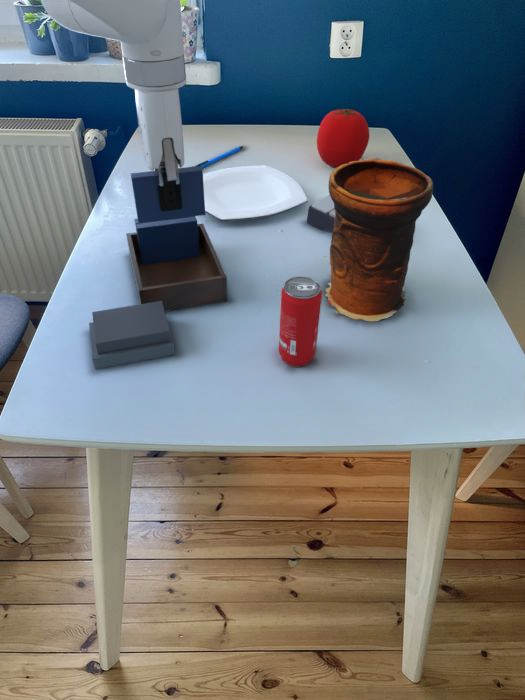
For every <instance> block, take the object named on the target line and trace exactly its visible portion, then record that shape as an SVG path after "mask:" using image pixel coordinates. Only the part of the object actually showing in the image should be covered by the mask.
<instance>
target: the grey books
mask: <svg viewBox="0 0 525 700" xmlns="http://www.w3.org/2000/svg"><path fill="white" fill-rule="evenodd" d="M91 314H92V315H91V316H92V322H89V323H88V326H89V327H88V328H89V337H90V347H91V348H90V349H91V357H92V358H91V359H92V362H93V366H94V370H98V369H105V368H110V367H116V366H121V365H126V364H131V363H137V362H143V361H149V360H153V359H159V358H165V357H169V356H174V355H176V352H175V345H174V340H173V338H172V333H171V330H170V326H169V321H168V318H167V314H166V311H165V310H164V306H163V303H162V301H158V302H151V303H145V304H140V303H139V304H134V305H128V306H121V307H116V308H109V309H101V310H95V311H92V312H91Z"/></svg>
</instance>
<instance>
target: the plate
mask: <svg viewBox="0 0 525 700" xmlns="http://www.w3.org/2000/svg"><path fill="white" fill-rule="evenodd" d="M203 185H204V201H205V213H207V214H209V215H211V216H213V217H214V218H216V219H218V220H220V221H236V220H237V221H238V220H248V219H257V218H265V217H269V216H274V215H278V214H281V213H284V212H287V211H289V210H292V209H294V208H297V207H300V206H302V205H304V204H305V203H308V202H309V199H308V198H307V196H306V193H305V191H304V189H303V188H302V186H301V185H300V183H298V182H297V181H296V180H295V179H294V178H293V177H291V176H290V175H288V174H286V173H284V172H282V171H281V170H278V169H276V168H274V167H271V166H269V165H267V164H263V165H262V164H261V165H246V166H245V165H243V166H233V167H226V168H220V169H217V170H213V171H209V172H206V173H203Z"/></svg>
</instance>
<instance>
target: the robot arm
mask: <svg viewBox="0 0 525 700" xmlns="http://www.w3.org/2000/svg"><path fill="white" fill-rule="evenodd" d="M40 3H41V5H42V7H43V9H44V10H45V12H46V13H47V14H48V16H49V17H50V18H51V19H52V20H53V21H54V22H55V23H57V24H58V25H60V26H61V27H63V28H65V29H67V30H69V31H72V32H75V33H79V34H84V35H88V36H91V37H98V38H103V39H108V40H113V41H117V42H120V49H121V56H122V62H123V69H124V70H123V71H124V76H125V77H124V78H125V83H126V84H125V85H126V86H127V87H128V88H130V89H131V90H134V96H135V107H136V108H135V109H136V116H137V124H138V132H139V141H140V148H141V152H142V155H143V159H144V161H145V164H146V166H147V169H149V170H150V171H158V178H159V184H157V187H158V195H159V203H160V209H161V211H171V210H179V209H182V196H181V185H180V182H179V172H178V168H183V166H184V165H185V149H184V148H185V145H184V133H183V131H184V130H183V121H182V111H181V103H180V101H181V100H180V93H179V89H180V88H182V87H183V86H185V85H186V84H187V74H186V59H185V47H184V34H183V24H182V23H183V21H182V7H181V0H40ZM162 170H166V171H165V172H163V174H162Z"/></svg>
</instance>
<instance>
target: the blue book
mask: <svg viewBox="0 0 525 700" xmlns="http://www.w3.org/2000/svg"><path fill="white" fill-rule="evenodd" d="M194 166H195V167H194ZM194 166H187V167H181V168H180V167H178V172H179V182H180V185H181V196H182V209H179V210H171V211H161V209H160V203H159V195H158V187H157V184H159V178H158V171H155V170H154V171H152V170H150V171H141V172H140V171H139V172H133V173H130V179H131V186H132V192H133V198H134V204H135V211H136V219H137V218H138V222H139V223H146V222H153V221H161V220H169V219H176V218H184V217H192V216H195V217H200V216H206V211H205V201H204V185H203V174H204V171H203V168H201V166H196V165H194ZM165 171H166V170H162V174H163V172H165Z"/></svg>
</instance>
